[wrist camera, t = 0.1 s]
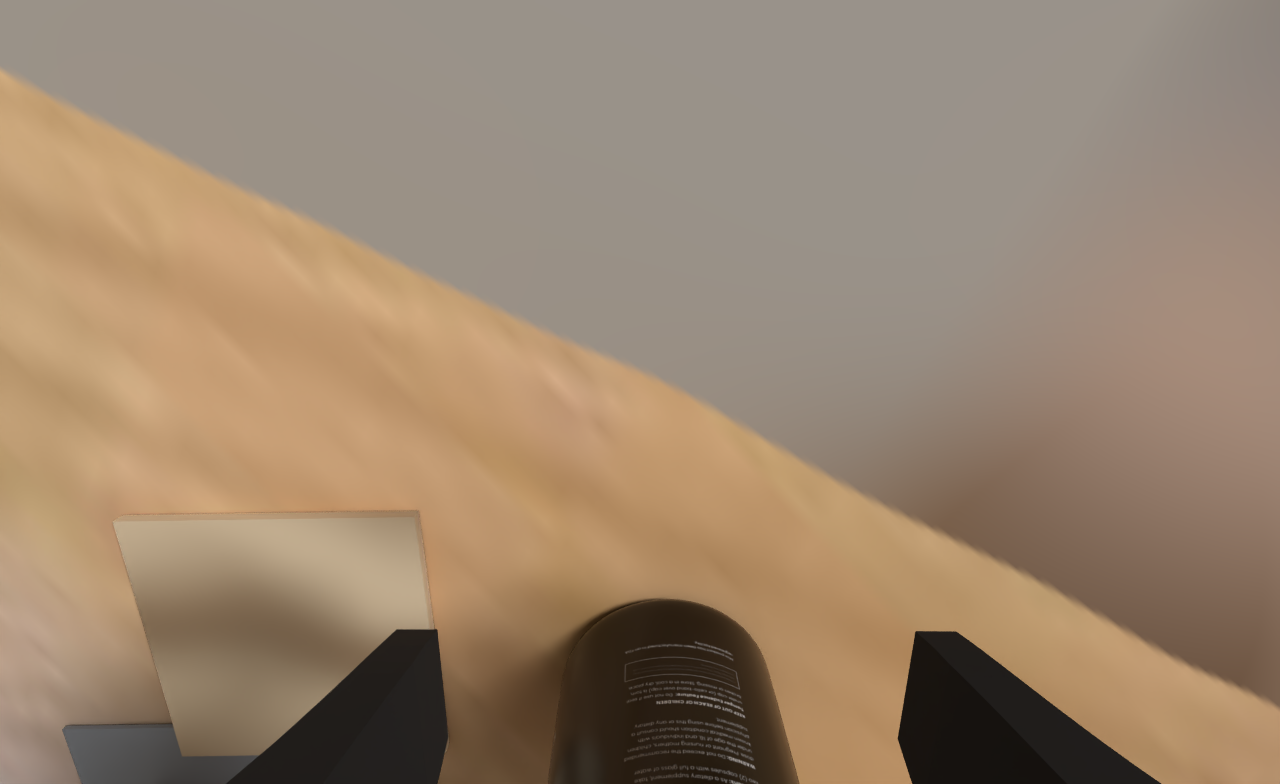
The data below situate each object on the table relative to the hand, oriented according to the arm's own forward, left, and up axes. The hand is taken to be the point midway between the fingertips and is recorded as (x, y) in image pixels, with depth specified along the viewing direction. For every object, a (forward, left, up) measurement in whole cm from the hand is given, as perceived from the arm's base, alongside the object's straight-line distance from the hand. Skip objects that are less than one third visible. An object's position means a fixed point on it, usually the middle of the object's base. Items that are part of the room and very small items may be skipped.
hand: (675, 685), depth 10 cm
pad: (-7, +12, -10) cm, 17 cm away
